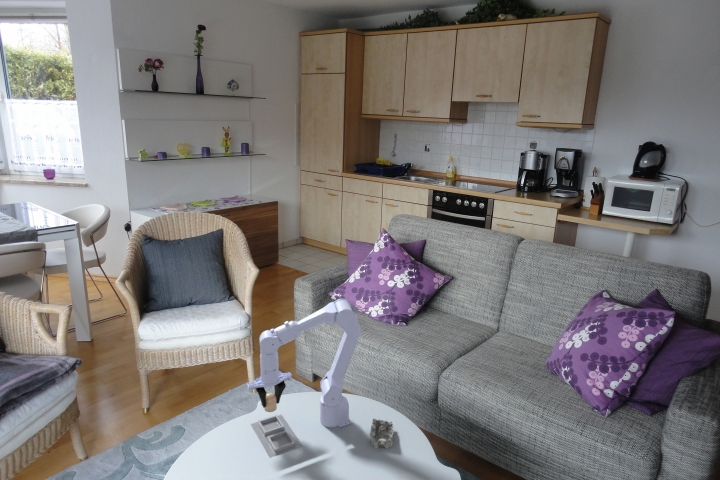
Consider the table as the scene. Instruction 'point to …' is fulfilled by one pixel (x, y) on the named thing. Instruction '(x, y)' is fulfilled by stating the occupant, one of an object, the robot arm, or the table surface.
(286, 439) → the egg stand
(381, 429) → the grey stone ruin model
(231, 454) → the table surface
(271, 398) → the egg
